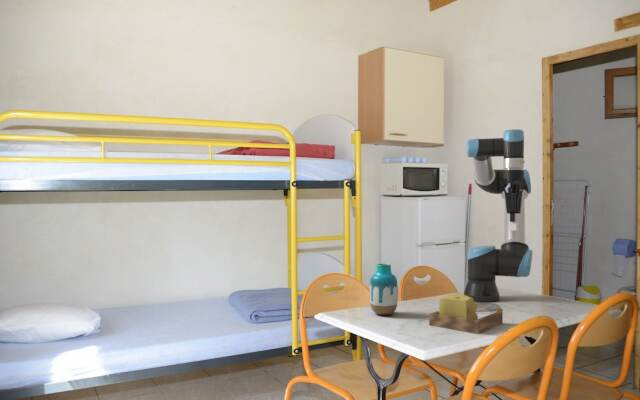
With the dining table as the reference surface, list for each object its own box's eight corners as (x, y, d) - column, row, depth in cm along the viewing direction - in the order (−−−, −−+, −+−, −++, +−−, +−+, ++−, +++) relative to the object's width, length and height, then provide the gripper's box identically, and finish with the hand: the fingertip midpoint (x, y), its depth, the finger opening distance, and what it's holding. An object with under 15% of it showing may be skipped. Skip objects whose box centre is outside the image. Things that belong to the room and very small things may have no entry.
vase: (378, 310, 211) (378, 262, 211) (402, 313, 205) (402, 264, 205) (364, 315, 203) (364, 264, 203) (389, 318, 197) (389, 266, 197)
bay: (429, 325, 187) (429, 310, 187) (456, 315, 201) (456, 302, 201) (477, 333, 175) (477, 317, 175) (502, 323, 189) (502, 308, 189)
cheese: (477, 323, 189) (477, 295, 189) (466, 330, 180) (466, 300, 180) (449, 320, 195) (449, 292, 195) (437, 325, 186) (437, 297, 186)
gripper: (515, 168, 200) (515, 231, 200) (530, 169, 209) (530, 229, 210) (496, 169, 205) (496, 230, 205) (511, 170, 215) (511, 228, 215)
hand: (513, 230), depth 207 cm, fingers closed
